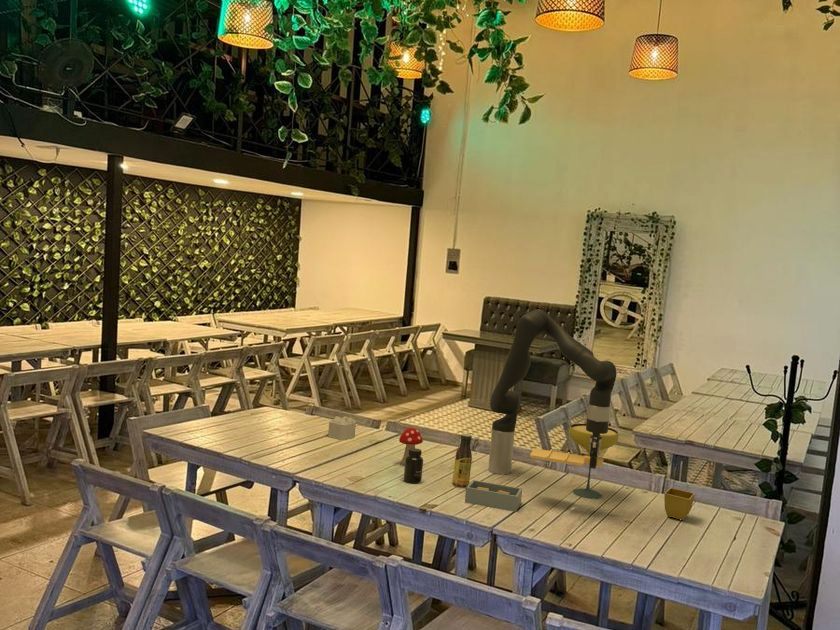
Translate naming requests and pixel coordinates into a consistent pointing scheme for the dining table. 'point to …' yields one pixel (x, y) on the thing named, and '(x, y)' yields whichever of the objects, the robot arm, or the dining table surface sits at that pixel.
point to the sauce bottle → (463, 463)
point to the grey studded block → (342, 428)
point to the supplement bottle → (413, 466)
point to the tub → (493, 495)
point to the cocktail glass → (583, 439)
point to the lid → (563, 457)
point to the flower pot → (678, 503)
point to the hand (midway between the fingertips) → (592, 466)
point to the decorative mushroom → (410, 440)
